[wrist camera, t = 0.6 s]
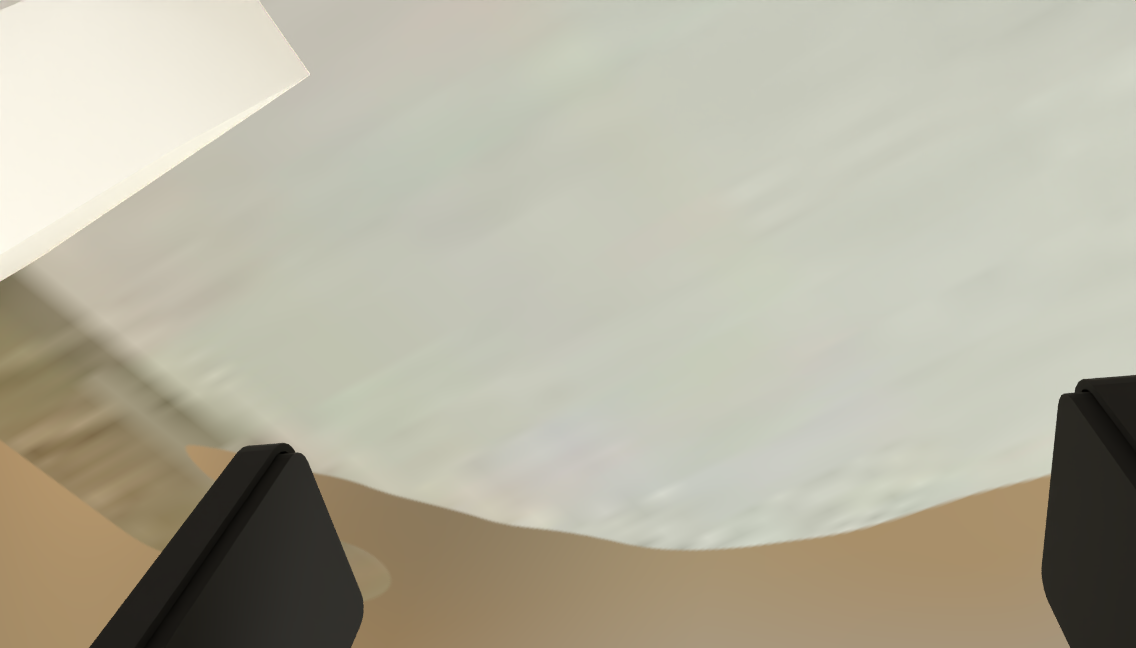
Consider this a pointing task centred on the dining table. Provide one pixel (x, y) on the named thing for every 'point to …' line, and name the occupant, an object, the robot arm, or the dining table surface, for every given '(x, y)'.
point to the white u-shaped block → (119, 102)
